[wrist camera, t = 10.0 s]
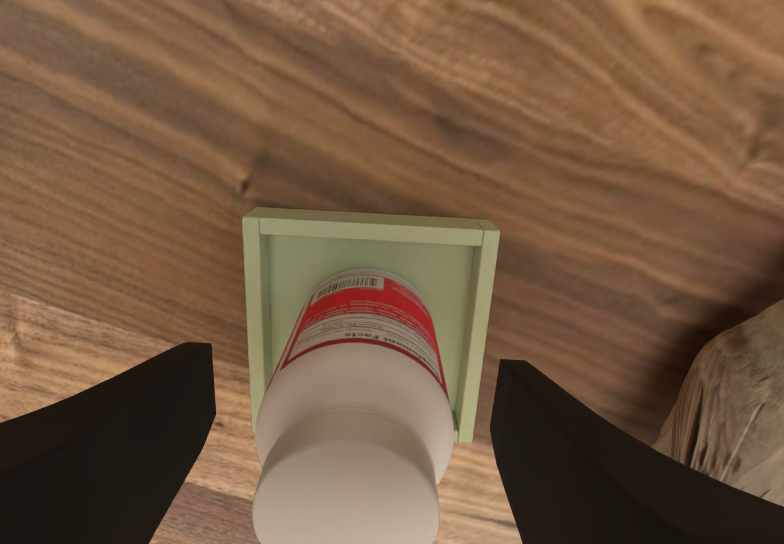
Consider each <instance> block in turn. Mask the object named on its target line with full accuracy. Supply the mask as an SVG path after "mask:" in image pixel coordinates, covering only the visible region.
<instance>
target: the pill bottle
mask: <svg viewBox="0 0 784 544" xmlns="http://www.w3.org/2000/svg"><path fill="white" fill-rule="evenodd" d="M255 443H256V450H257V454H258V458H259V461H260V464H261V467H262V473H261V476H260V479H259V482H258V485H257V488H256V492H255V495H254V499H253V506H252V517H253V526H254V530H255V533H256V535H257V538H258V540H259V542H260V544H433V541H434V539H435V537H436V533H437V530H438V526H439V516H440V511H439V501H438V493H437V485H438V484H439V482H440V481H441V479H442V477H443V475H444V474H445V471H446V469H447V467H448V465H449V462H450V459H451V455H452V451H453V444H454V426H453V419H452V413H451V407H450V402H449V397H448V392H447V388H446V382H445V377H444V373H443V367H442V363H441V358H440V353H439V348H438V344H437V339H436V334H435V329H434V325H433V320H432V317H431V314H430V310H429V308H428V306H427V304H426V302H425V300H424V299H423V297H422V296H421V294H420V293H419V292H418V291H417V290H416V289H415V288H414V287H413V286H412V285H411V284H410V283H409V282H407V281H406V280H404V279H403V278H401V277H400V276H398V275H396V274H393V273H391V272H388V271H385V270H381V269H375V268H356V269H350V270H346V271H343V272H340V273H338V274H335V275H333V276H331V277H330V278H328V279H326V280H325V281H324V282H322V283H321V284H320V285H319V286H318V287H317V288H316V289H315V290H314V291H313V292H312V293H311V295H310V296H309V297H308V299H307V300H306V302H305V304H304V306H303V308H302V310H301V312H300V314H299V316H298V318H297V321H296V324H295V326H294V328H293V331H292V333H291V335H290V338H289V340H288V342H287V344H286V347H285V349H284V351H283V354H282V356H281V358H280V360H279V363H278V365H277V367H276V370H275V372H274V374H273V376H272V378H271V380H270V382H269V385H268V387H267V389H266V392H265V394H264V397H263V399H262V402H261V405H260V408H259V411H258V415H257V420H256V428H255Z"/></svg>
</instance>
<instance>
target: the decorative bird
mask: <svg viewBox="0 0 784 544" xmlns="http://www.w3.org/2000/svg"><path fill="white" fill-rule="evenodd" d="M650 447H651V448H653V449H655V450H657V451H658V452H660V453H662V454H664V455H666V456H668V457H670V458H672V459H674V460H676V461H678V462H680V463H682V464H684V465H686V466H688V467H690V468H692V469H694V470H697V471H699V472H701V473H703V474H705V475H707V476H709V477H711V478H714V479H716V480H718V481H721V482H723V483H725V484H728V485H730V486H732V487H735V488H737V489H740V490H742V491H745V492H747V493H750V494H752V495H755V496H757V497H760V498H762V499H765V500H768V501H770V502H773V503H775V504H778V505H781V506H784V299H782V300H780V301H779V302H777V303H775V304H773V305H771V306H770V307H768V308H766V309H765V310H764V311H762V312H761V313H760V314H758V315H757V316H754V317H751V318H749V319H747V320H746V321H744V322H742V323H740V324H738V325H736V326H734V327H732V328H730V329H728V330H726V331H724V332H722V333H720V334H718V335H716V336H715V337H714V338H712V339H711V340H709V341H708V342H706V343H705V345H704V346H703V348H702V349H701V350H700V352H699V353H698V355H697V356H696V357H695V359H694V361H693V363H692V365H691V367H690V370H689V372H688V374H687V376H686V378H685V380H684V382H683V384H682V387H681V389H680V391H679V395H678V399H677V402H676V404H675V406H674V407H673V409H672V411H671V413H670V414H669V416H668V418H667V419H666V420H665V422H664V424H663V426H662V428H661V431H660V437H659V438H658V440H657V441H656V442H655V443H654V444H653V445H652V446H650Z"/></svg>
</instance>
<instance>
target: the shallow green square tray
mask: <svg viewBox="0 0 784 544" xmlns="http://www.w3.org/2000/svg"><path fill="white" fill-rule="evenodd" d="M242 232H243V253H244V274H245V295H246V316H247V336H248V357H249V378H250V399H251V420H252V433H254V434H255V428H256V420H257V415H258V411H259V408H260V405H261V402H262V399H263V397H264V394H265V392H266V389H267V387H268V385H269V382H270V380H271V378H272V376H273V374H274V372H275V370H276V367H277V365H278V363H279V360H280V358H281V356H282V354H283V351H284V349H285V347H286V344H287V342H288V340H289V338H290V335H291V333H292V331H293V328H294V326H295V324H296V321H297V318H298V316H299V314H300V312H301V310H302V308H303V306H304V304H305V302H306V300H307V299H308V297H309V296H310V295H311V293H312V292H313V291H314V290H315V289H316V288H317V287H318V286H319V285H320V284H321V283H322V282H324V281H325V280H326V279H328V278H330V277H331V276H333V275H335V274H338V273H340V272H343V271H346V270H350V269H356V268H375V269H381V270H385V271H388V272H391V273H393V274H396V275H398V276H400V277H401V278H403V279H404V280H406V281H407V282H409V283H410V284H411V285H412V286H413V287H414V288H415V289H416V290H417V291H418V292H419V293H420V294H421V296H422V297H423V299H424V300H425V302H426V304H427V306H428V308H429V310H430V314H431V317H432V320H433V325H434V329H435V334H436V339H437V344H438V348H439V353H440V358H441V363H442V367H443V373H444V377H445V382H446V388H447V392H448V397H449V402H450V407H451V413H452V419H453V426H454V443H457V441H458V443H472V438H473V431H474V423H475V416H476V408H477V401H478V394H479V386H480V379H481V371H482V364H483V356H484V349H485V341H486V334H487V326H488V319H489V312H490V304H491V297H492V289H493V282H494V274H495V267H496V259H497V252H498V244H499V237H500V231H499V230H498V228H497V227H496V226H495V225H494V224H493V223H492V221H491V220H487V219H469V218H451V217H432V216H414V215H396V214H378V213H360V212H342V211H323V210H305V209H287V208H269V207H255V208H254V209H253V210H251V211H250V212H248V213H247V214H246V215H244V216H243V217H242Z"/></svg>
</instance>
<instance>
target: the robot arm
mask: <svg viewBox="0 0 784 544" xmlns="http://www.w3.org/2000/svg"><path fill="white" fill-rule="evenodd" d="M215 416H216V403H215V389H214V375H213V361H212V347H211V343H194V342H186V343H183V344H180V345H178V346H175V347H173V348H171V349H169V350H167V351H165V352H163V353H161V354H159V355H157V356H155V357H153V358H151V359H149V360H147V361H145V362H143V363H141V364H139V365H137V366H135V367H133V368H131V369H129V370H127V371H125V372H123V373H121V374H119V375H117V376H115V377H113V378H111V379H108V380H106V381H104V382H102V383H100V384H97V385H95V386H93V387H91V388H89V389H87V390H84V391H82V392H80V393H78V394H76V395H74V396H71V397H69V398H66V399H64V400H62V401H59V402H57V403H54V404H52V405H49V406H47V407H44V408H41V409H39V410H36V411H33V412H30V413H28V414H25V415H22V416H20V417H17V418H14V419H11V420H8V421H5V422H1V423H0V544H149V542H150V540H151V539H152V537H153V535H154V533H155V531H156V529H157V528H158V526H159V524H160V522H161V521H162V519H163V517H164V515H165V514H166V512H167V510H168V508H169V507H170V505H171V503H172V501H173V500H174V498H175V496H176V495H177V493H178V491H179V489H180V488H181V486H182V484H183V482H184V481H185V479H186V477H187V475H188V474H189V472H190V470H191V468H192V467H193V465H194V463H195V461H196V459H197V458H198V456H199V454H200V452H201V450H202V448H203V446H204V444H205V441H206V439H207V436H208V434H209V431H210V429H211V426H212V424H213V421H214V418H215ZM490 432H491V437H492V443H493V449H494V454H495V459H496V464H497V467H498V470H499V473H500V476H501V479H502V483H503V486H504V489H505V492H506V495H507V498H508V501H509V504H510V507H511V510H512V513H513V516H514V519H515V522H516V525H517V528H518V531H519V534H520V537H521V540H522V543H523V544H784V506H781V505H778V504H775V503H773V502H770V501H768V500H765V499H762V498H760V497H757V496H755V495H752V494H750V493H747V492H745V491H742V490H740V489H737V488H735V487H732V486H730V485H728V484H725V483H723V482H721V481H718V480H716V479H714V478H711V477H709V476H707V475H705V474H703V473H701V472H699V471H697V470H694V469H692V468H690V467H688V466H686V465H684V464H682V463H680V462H678V461H676V460H674V459H672V458H670V457H668V456H666V455H664V454H662V453H660V452H658V451H657V450H655V449H653V448H651V447H650V446H648V445H646V444H644V443H643V442H641V441H639V440H637V439H636V438H634V437H632V436H630V435H629V434H627V433H625V432H624V431H622V430H621V429H619V428H617V427H616V426H614V425H613V424H611V423H610V422H608V421H607V420H605V419H604V418H602V417H601V416H599V415H598V414H596V413H595V412H594V411H592V410H591V409H589V408H588V407H587V406H585V405H584V404H582V403H581V402H580V401H578V400H577V399H576V398H574V397H573V396H572V395H570V394H569V393H568V392H566V391H565V390H564V389H562V388H561V387H560V386H558V385H557V384H556V383H555V382H553V381H552V380H551V379H550V378H548V377H547V376H546V375H544V374H543V373H542V372H540V371H539V370H538V369H536V368H535V367H534V366H532V365H531V364H530V363H528V362H526V361H525V360H508V359H500V365H499V371H498V378H497V384H496V391H495V397H494V404H493V410H492V417H491V423H490Z"/></svg>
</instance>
